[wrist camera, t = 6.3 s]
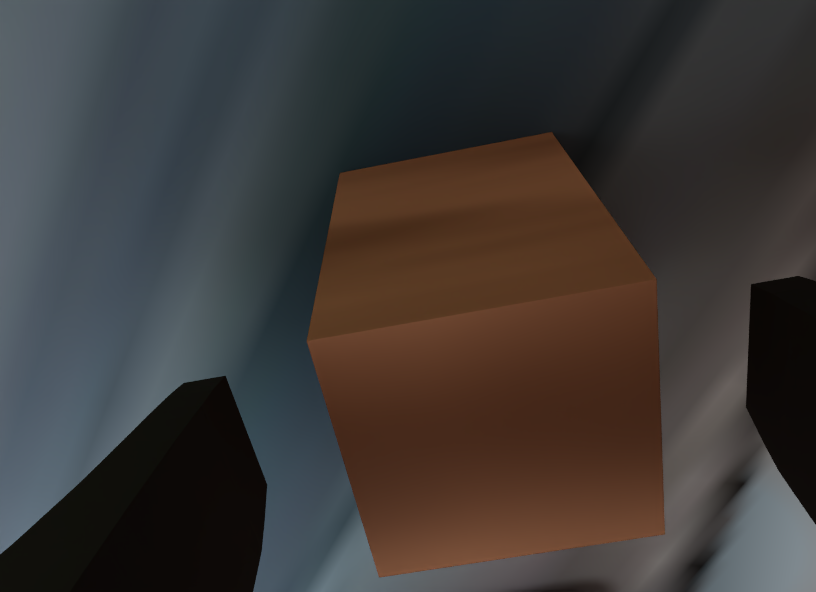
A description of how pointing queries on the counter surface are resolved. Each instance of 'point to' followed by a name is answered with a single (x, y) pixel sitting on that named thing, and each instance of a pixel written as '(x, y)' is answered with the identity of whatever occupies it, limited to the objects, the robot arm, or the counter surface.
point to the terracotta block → (488, 358)
